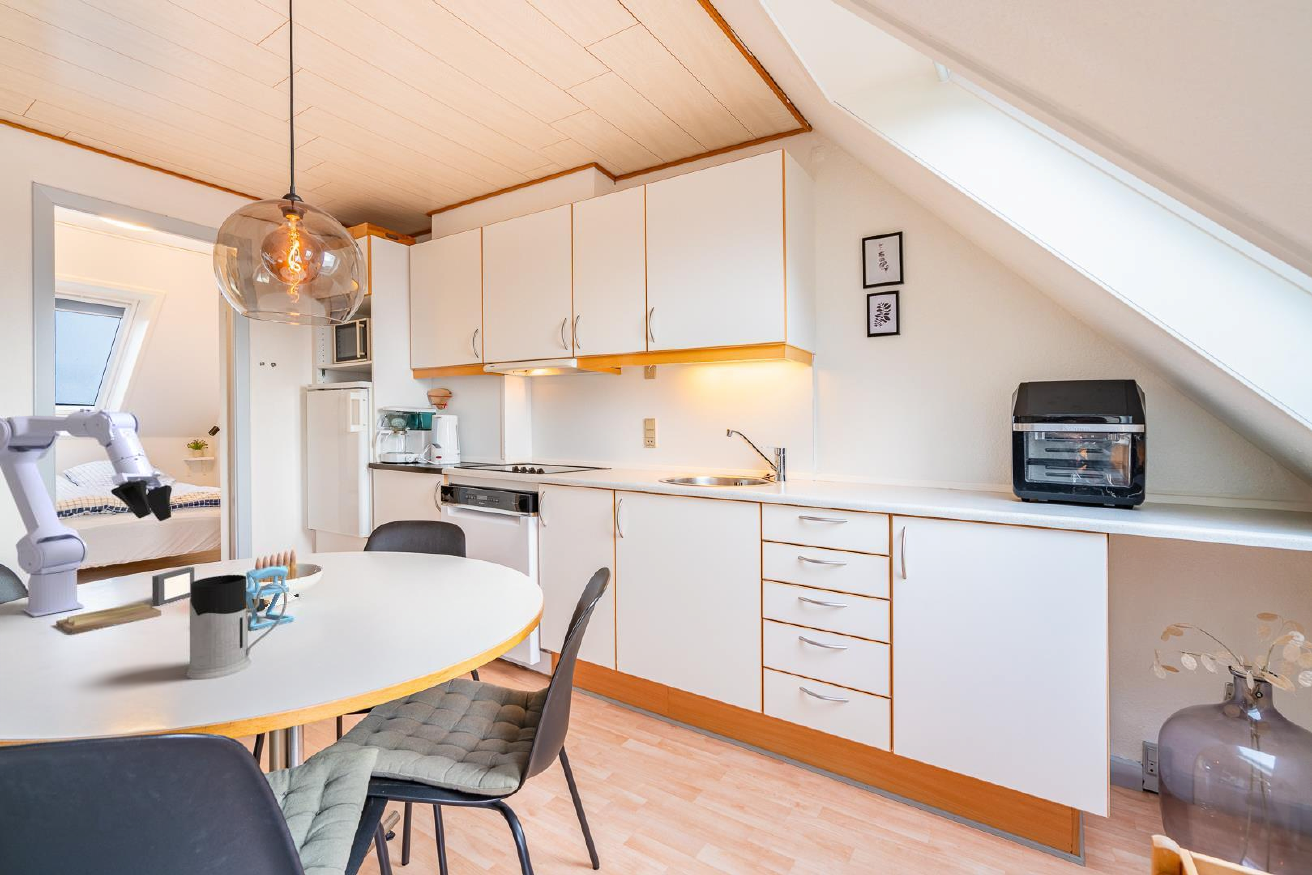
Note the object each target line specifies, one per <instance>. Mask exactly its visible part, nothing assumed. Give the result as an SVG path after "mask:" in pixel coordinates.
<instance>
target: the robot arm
mask: <svg viewBox="0 0 1312 875" xmlns="http://www.w3.org/2000/svg"><path fill="white" fill-rule="evenodd" d="M139 426H140V423H139V420H138V418H137V416H136V415H135V414H134V413H132V412H128V411H118V412H117V411H110V410H109V409H99V410H98V411H93V409H91V408H80V409H79V411H74V412H72V413H70V414H69V415H68V416H58V415H57V416H56V415H22V416H20V415H19V416H10V417H6V418H0V469H1V471H2V474H3V476H4V478H5V481H6V485H7V486H8V488H9V491H10V493H11V495H12V498H13V501H14V503H15V505H16V507H17V509H18V512H19V515H20V517H21V520H22V522H23V524H24V528H25V529H26V531H27V533H26V534H25V535H24V536H22V537H21V538H20V539H19V540H18V541H17V543H16V544H15V548H16V551H17V563H18V566H19V567H20V569H22V570H23V571H24V572H25V574H27V575H30V576H29V578H28V582H27V586H28V587H27V593H28V594H27V599H28V600H27V603H28V604H27V605H28V606H24V607H21V611H23V612H25V613H27V614H28V615H30V616H32V617H34V618H35V617H40V616H46V615H51V614H55V613H56V614H57V613H61V612H67V611H71V610H77V609H82V608H84V607H85V605H84V604H82V603H80V602H78V570H77V569H78V568H80V567H82V563H83V562H84V561H86V559H87V556H88V553H89V548H88V544H87V542H86V541H85V540H84V539H82V537H81V536H80V535H79V533H78V530H77V529H74V528H71V527H69V526H67V525H64V524H62V523H61V521H60V519H59V517H58V515H57V511H56V510H55V507H54V504H53V502H52V499H51V498H50V496H49V493H48V491H47V488H46V485H45V483H44V481H43V479H42V476H41V473H40V472H39V469H38V467H37V464H36V463H37V461H39V460H41V459H42V460H43V459H44V458H45V457H46V456H47V454H48V453H49V451H50V450H51V449H52V447H53V446H54V444H55V443H56V441H57V439H58V437H60V435H61V432H67V433H68V434H69V435H71V436H73V437H76V438H90V439H91V438H94V439H96V440H97V442H98V443H99V445H100V446H101V447H104V449H105V451H106V453H107V456H108V458H109V460H110V462H111V465H112V467H113V470H114V471H115V474H114V475H113V476H111V480H112V482H113V484H114V486H117V487H115V488H112V489H110V492H111V494H112V495H114V496H115V497H116V498H118V499H119V500H120V501H121V502H123V503H124V504H125V505H126V506H127V508H128V509H130V511H131V512H132V513H133V514H134V515H135V517H136V518H138V519H142V518H145V517H147V516H149V515H151V513H153V515H154V516H155V517H156V519H157V520H158V521H159V522H163V521H165V520H167V519H170V518H172V511H171V510H172V508H171V494H172V491H173V488H172V486H171V485H168V484H164V483H163V481H160V480H159V477H161V476H162V475H163V474H162V472H161V471H154V470H153V468H152V466H151V463H150V462H149V459H148V457H147V455H146V453H145V450H144V448H143V445H142V444H141V441H140V440H139V437H138V435H137V433H138V431H139ZM151 511H152V512H151Z"/></svg>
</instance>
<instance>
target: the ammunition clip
mask: <svg viewBox="0 0 1312 875" xmlns="http://www.w3.org/2000/svg"><path fill="white" fill-rule="evenodd" d="M269 558H270V559H268V556H267V555H265V556H264V557H263V561H262V562H261V558H260V557H257V558H256V561H255V567H254V569H256V570H262V569H264V568H267V567H277V566H278V565H282V566H285V567H286V568H287V569H288V573H287V576H286V579H285V580H289V579H294V578H298V574H297V573H298V567H297V561H296V560H297V559H296V552H295V551H294V549H291V552H290V555H289V552H288V551H285V552H284V554H283V558H282V554H281V552H278V553H277V556H276V559H275V555H274V554H271V555H270V557H269ZM273 578H274V577H268V578H264V579H261V580H259V581H258V582H259V583H260V582H273ZM281 579H282V576H278V581H281ZM254 583H255V582H254V581H253V584H254ZM294 596H295V597H299V598H300V593H299V594H296V595H294ZM252 600H253V603H254V606H256V599H253V598H252ZM268 604H270V601H269V600H264V599H260V600H259V605H258V607H257V608H256V612H257V613H260V612H264V611H265V610H264V609H265V607H267V606H268ZM263 610H264V611H263Z"/></svg>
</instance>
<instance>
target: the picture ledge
mask: <svg viewBox="0 0 1312 875" xmlns="http://www.w3.org/2000/svg"><path fill="white" fill-rule="evenodd" d="M159 615H161V616H162V610H161V609H159V608H156V607H153V606H151V605H150V604H145V603H144V602H142V601H141V602H137V603H130V604H126V605H121V606H116V607H112V608H105V609H100V610H97V611H96V610H95V611H90V612H85V613H81V614H80V613H79V614H75V615H70V616H67V617H66V618H63V619H59V620H56V621H55V622H56V623H55V624H56V625H57V626H56V627H58V628H60V629H61V628H62V630H63V629H64V630H63V631H65V630H66V631H65V632H67V633H68V632H69V633H68V634H70V633H72V634H73V635H75V634H74V633H77V634H82V633H85V632H84V631H87V632H89V631H88V630H91V631H93V630H92V629H96V630H100V629H99V628H101V629H104V628H103V627H105V628H108V627H107V626H110V627H112V626H111V625H114V624H119V625H123V624H122V623H124V624H127V623H126V622H128V623H131V622H130V621H133V622H135V621H134V620H137V621H142V620H146V619H145V618H147V619H150V618H149V617H151V618H154V617H153V616H156V617H160V616H159ZM141 619H142V620H141ZM114 626H115V625H114ZM81 632H82V633H81ZM72 634H71V635H72Z"/></svg>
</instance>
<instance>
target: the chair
mask: <svg viewBox="0 0 1312 875" xmlns="http://www.w3.org/2000/svg"><path fill="white" fill-rule="evenodd" d="M282 565H283V564H282ZM282 565H278V566H277V567H267V568H264V569H262V570H256V569H255V568H253V569H251V570H247V571H246V575H245V576H246V581H247V583H248V584H247V586H246V603H247V604H248V605H247V606H248V608H253V607H255V606H254V603H253V600H252V598H257V594H258V592H259V590H260V589H261V588H262V587H263V586H261V587H260V585H259V582H258V581H259V580H261V579H264V578H268V577H274V578H273V583H276V584H280V583H278V576H282V579H281V584H280V585H282V586H283V587H284V588H285V590H286V592H289V587H286V585H285V579H286V576H287V573H288V569H287V568H286V567H285V566H282ZM254 582H255V587H254ZM281 593H284V592H283V590H282V589H281V588H280V587H278V586H267V587H266V588H264V589H263V590H262V592H261V594H260V597H263V596H266V595H271V594H275V595H274V597H273V599H272V602H271V604H270V606H269V607H268V609H267V610H265V618H268V619H274V620H270V621H267V622H261V623H258V617H259V615H258V612H256V609H254V610H251V611H250V615H251V621H250V625H249V629H251V630H250V631H252V630H253V631H256V630H255V629H258V630H261V629H266V628H265V627H267V628H270V627H269V626H271V627H272V626H273V625H274V624H275V623H276V621H277V620H278V618H279V616H280V614H281V613H275V612H273V610H274V608H275V607H274V606H275V604H276V602H277V600H278V598H279V596H280V594H281ZM293 620H294V621H295V617H294V616H293V615H288V614H283V616H282V618H281V620H280V621H279V623H278V624H280V625H284V624H288V623H287V622H289V623H292V622H291V621H293ZM294 621H293V622H294ZM283 623H284V624H283Z"/></svg>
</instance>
